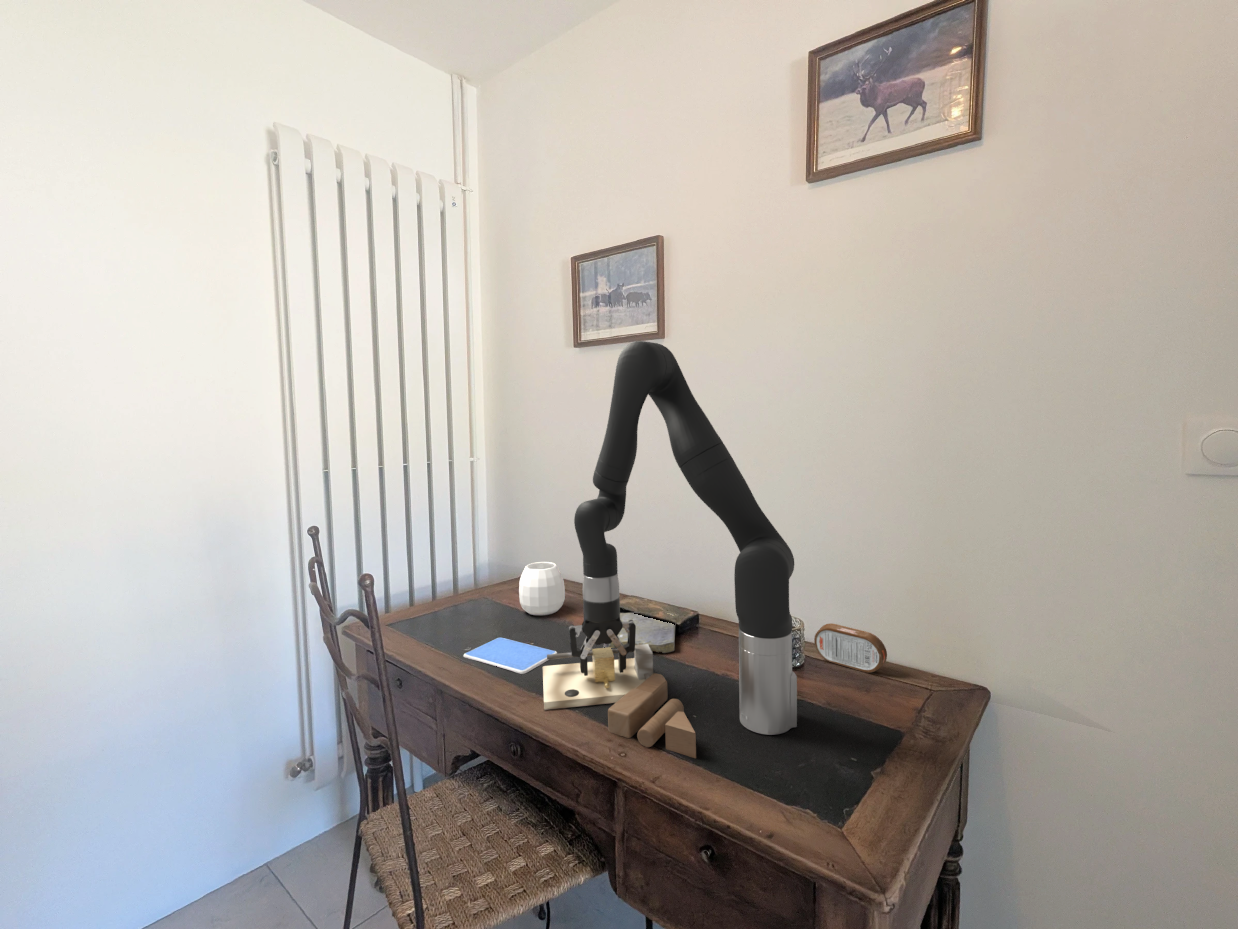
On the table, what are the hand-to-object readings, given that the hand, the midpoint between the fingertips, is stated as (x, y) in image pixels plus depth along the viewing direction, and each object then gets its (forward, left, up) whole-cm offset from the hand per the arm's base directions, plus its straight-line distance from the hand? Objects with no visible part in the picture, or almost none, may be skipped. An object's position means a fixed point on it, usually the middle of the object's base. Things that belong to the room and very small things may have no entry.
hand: (603, 672), depth 119 cm
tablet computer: (+20, -19, -3) cm, 28 cm away
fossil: (-12, -23, -3) cm, 26 cm away
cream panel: (+1, 0, -3) cm, 3 cm away
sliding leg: (0, +2, -1) cm, 2 cm away
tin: (-54, +2, -3) cm, 54 cm away
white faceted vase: (+12, -48, -3) cm, 50 cm away
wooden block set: (-10, +17, -3) cm, 20 cm away
